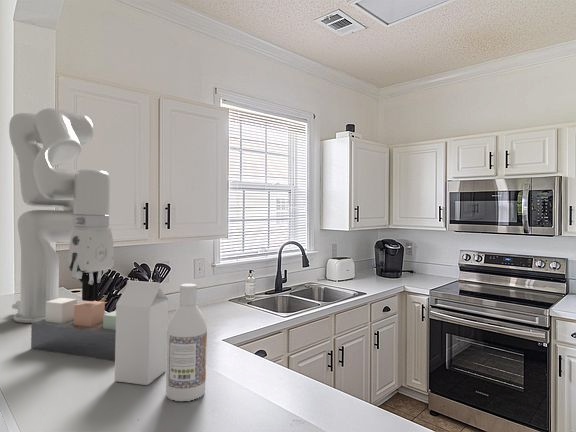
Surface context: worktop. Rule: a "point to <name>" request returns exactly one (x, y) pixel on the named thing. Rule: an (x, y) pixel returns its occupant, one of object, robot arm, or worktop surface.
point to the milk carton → (141, 333)
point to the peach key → (89, 313)
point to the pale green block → (109, 320)
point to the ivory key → (60, 310)
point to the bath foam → (186, 349)
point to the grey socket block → (74, 339)
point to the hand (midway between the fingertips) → (90, 300)
